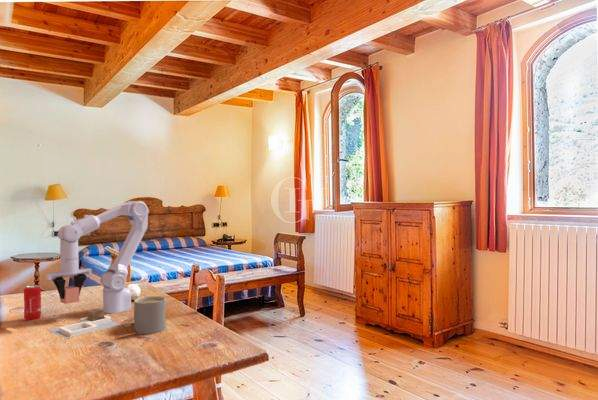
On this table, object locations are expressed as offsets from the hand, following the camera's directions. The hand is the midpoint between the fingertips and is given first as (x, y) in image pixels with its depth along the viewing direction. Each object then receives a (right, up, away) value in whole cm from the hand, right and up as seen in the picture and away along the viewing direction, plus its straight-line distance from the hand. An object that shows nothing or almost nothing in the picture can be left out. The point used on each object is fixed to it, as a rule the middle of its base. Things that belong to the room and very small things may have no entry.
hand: (69, 296), depth 148 cm
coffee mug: (+31, -9, -8) cm, 33 cm away
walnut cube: (+11, -8, -3) cm, 14 cm away
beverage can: (-16, -9, +4) cm, 18 cm away
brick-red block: (0, -2, 0) cm, 2 cm away
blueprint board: (+10, -9, -9) cm, 16 cm away
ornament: (+10, -9, +31) cm, 33 cm away
